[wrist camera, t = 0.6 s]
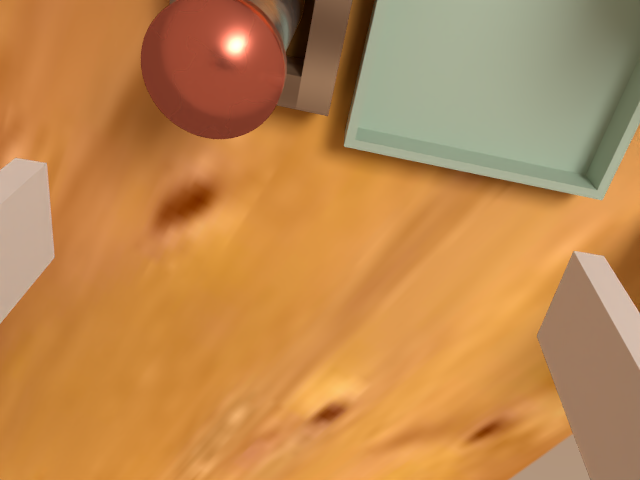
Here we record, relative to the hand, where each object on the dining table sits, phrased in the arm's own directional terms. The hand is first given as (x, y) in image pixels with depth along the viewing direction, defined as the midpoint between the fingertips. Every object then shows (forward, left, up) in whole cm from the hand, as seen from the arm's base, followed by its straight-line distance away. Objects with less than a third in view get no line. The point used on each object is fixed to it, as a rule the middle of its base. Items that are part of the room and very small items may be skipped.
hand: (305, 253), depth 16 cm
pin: (-1, -5, -27) cm, 27 cm away
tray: (-1, +10, -27) cm, 29 cm away
